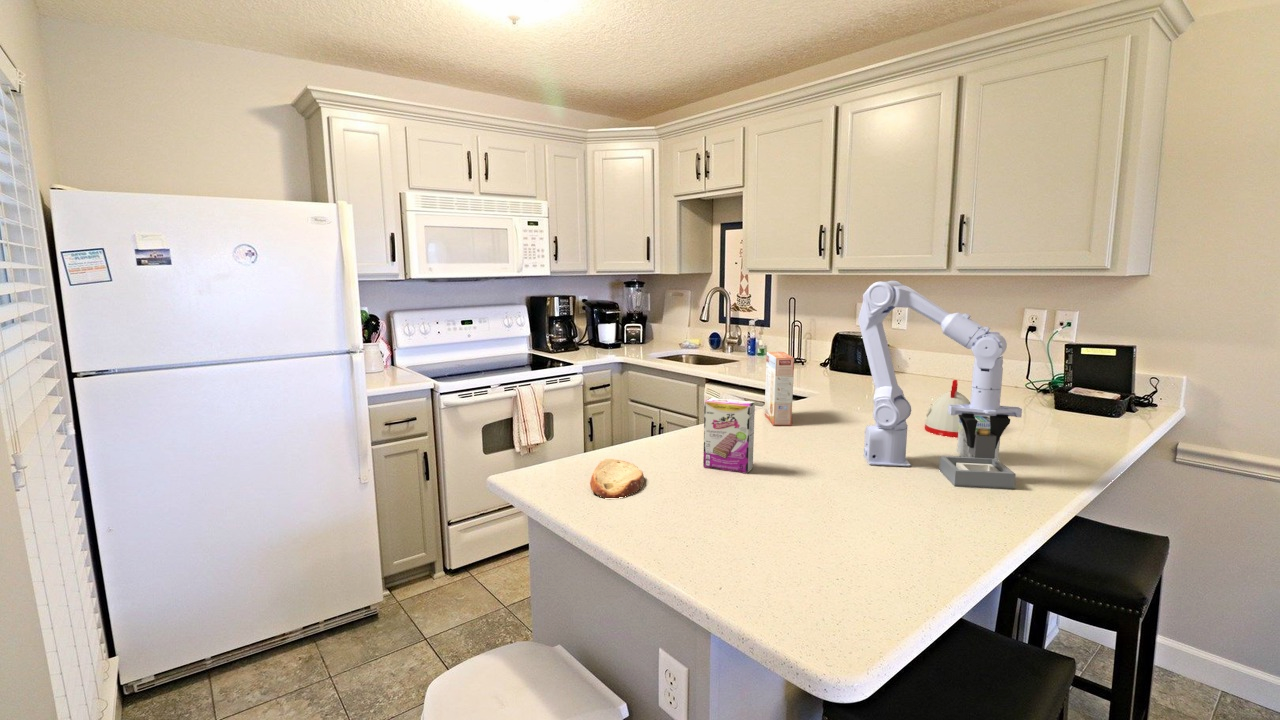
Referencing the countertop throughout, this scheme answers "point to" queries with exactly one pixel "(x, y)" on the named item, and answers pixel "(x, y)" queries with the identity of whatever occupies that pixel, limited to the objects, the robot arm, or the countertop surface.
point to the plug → (983, 444)
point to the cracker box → (779, 388)
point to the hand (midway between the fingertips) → (981, 447)
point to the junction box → (976, 472)
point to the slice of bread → (616, 479)
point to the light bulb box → (982, 423)
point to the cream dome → (945, 413)
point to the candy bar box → (728, 434)
